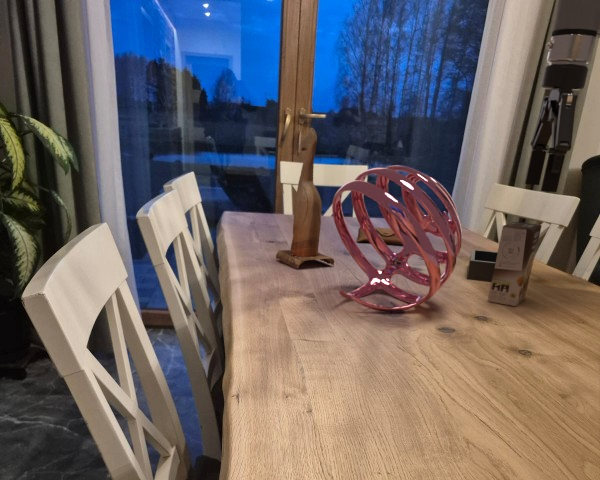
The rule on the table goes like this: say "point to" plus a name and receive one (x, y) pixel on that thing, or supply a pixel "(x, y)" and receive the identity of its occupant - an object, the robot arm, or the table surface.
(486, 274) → the box
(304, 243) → the bird sculpture
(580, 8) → the robot arm
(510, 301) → the coffee box
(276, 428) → the table surface
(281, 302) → the table surface
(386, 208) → the spiral basket
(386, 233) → the sunglasses case
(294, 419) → the table surface
